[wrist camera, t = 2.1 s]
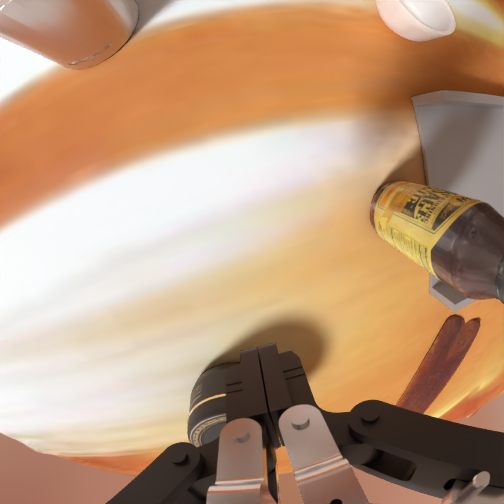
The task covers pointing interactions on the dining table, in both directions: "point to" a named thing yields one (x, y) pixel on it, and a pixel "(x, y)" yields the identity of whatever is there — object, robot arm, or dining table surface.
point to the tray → (462, 156)
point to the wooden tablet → (439, 363)
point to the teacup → (417, 18)
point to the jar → (208, 406)
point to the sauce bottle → (444, 235)
